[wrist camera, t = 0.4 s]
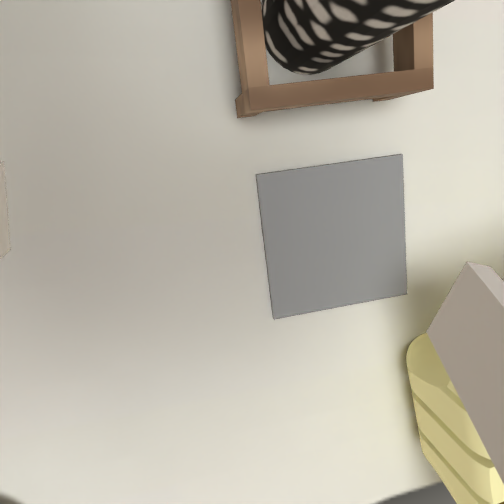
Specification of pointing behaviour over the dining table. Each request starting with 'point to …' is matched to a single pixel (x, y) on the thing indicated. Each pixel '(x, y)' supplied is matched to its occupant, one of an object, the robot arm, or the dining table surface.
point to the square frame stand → (327, 90)
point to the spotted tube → (334, 28)
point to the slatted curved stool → (449, 430)
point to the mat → (334, 234)
